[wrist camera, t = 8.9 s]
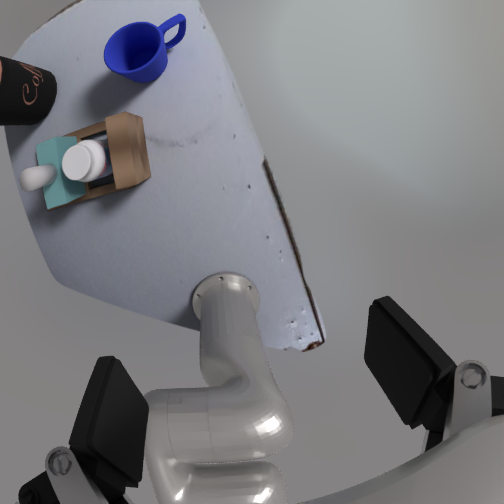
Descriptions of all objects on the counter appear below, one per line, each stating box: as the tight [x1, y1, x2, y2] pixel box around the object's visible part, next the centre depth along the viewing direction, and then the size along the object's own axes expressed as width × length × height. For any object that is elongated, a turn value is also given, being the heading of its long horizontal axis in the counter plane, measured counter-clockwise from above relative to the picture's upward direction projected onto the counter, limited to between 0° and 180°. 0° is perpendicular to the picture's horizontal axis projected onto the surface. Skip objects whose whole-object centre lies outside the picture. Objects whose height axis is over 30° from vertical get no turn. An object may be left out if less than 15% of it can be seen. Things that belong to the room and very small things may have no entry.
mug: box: [104, 14, 186, 83], centre depth 28 cm, size 8×12×10 cm
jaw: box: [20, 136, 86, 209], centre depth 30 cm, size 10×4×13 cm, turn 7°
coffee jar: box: [0, 56, 57, 126], centre depth 22 cm, size 11×11×18 cm
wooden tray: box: [36, 112, 151, 211], centre depth 33 cm, size 12×21×9 cm, turn 97°
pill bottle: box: [62, 140, 113, 182], centre depth 33 cm, size 6×6×11 cm
